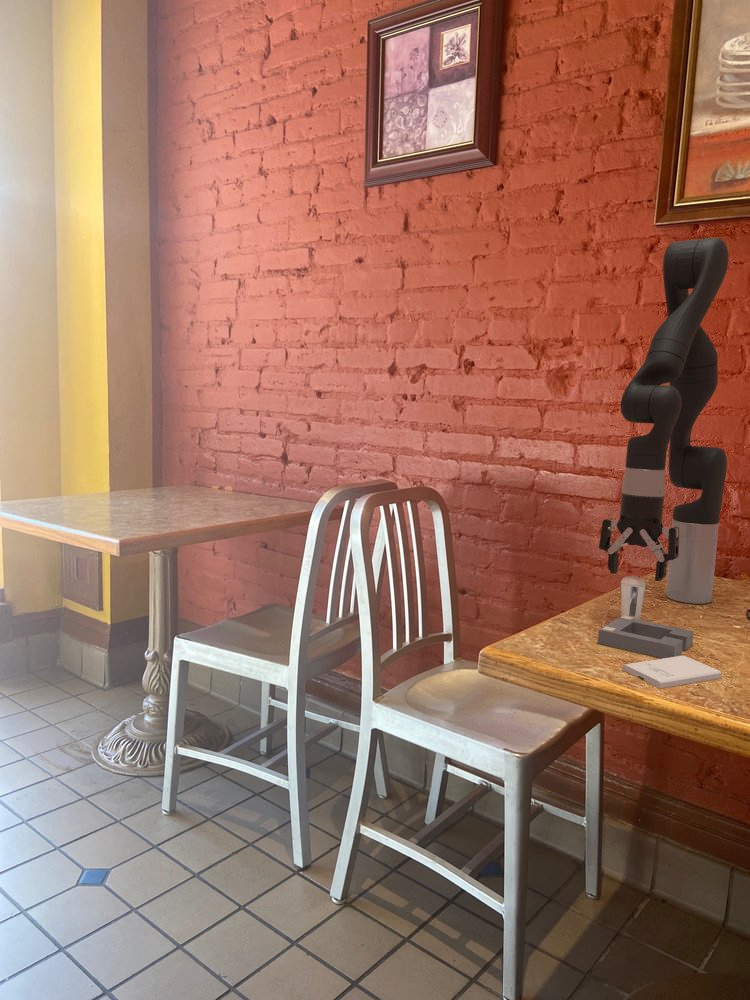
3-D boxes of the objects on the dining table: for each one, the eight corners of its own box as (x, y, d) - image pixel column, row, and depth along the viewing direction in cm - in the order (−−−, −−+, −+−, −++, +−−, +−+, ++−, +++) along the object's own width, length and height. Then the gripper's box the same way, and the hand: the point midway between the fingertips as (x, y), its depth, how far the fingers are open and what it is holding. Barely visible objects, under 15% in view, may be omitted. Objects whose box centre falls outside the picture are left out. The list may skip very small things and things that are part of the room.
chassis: (619, 629, 140) (620, 614, 140) (692, 644, 132) (693, 629, 132) (597, 643, 132) (598, 628, 131) (673, 661, 124) (675, 644, 123)
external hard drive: (721, 681, 117) (659, 691, 112) (680, 663, 124) (621, 672, 119) (722, 671, 116) (660, 681, 111) (681, 654, 124) (622, 662, 119)
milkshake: (648, 628, 141) (653, 576, 140) (619, 625, 143) (623, 574, 141) (645, 621, 146) (649, 571, 144) (616, 618, 147) (620, 568, 146)
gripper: (688, 495, 139) (680, 580, 141) (612, 487, 148) (606, 567, 150) (676, 498, 133) (668, 586, 135) (598, 489, 142) (592, 573, 144)
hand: (635, 576), depth 143 cm, fingers open, 8 cm apart
